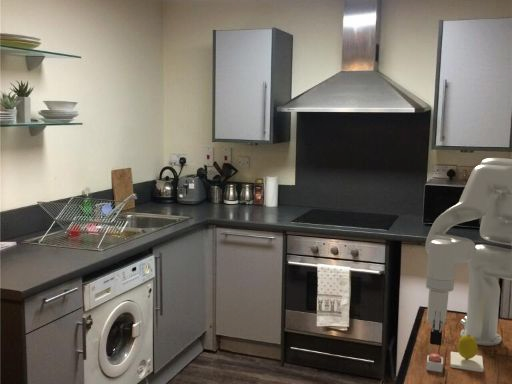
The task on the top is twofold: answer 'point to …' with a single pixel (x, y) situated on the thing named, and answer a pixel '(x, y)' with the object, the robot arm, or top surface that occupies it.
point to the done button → (435, 358)
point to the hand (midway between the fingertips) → (435, 343)
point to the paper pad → (467, 362)
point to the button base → (434, 365)
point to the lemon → (467, 346)
